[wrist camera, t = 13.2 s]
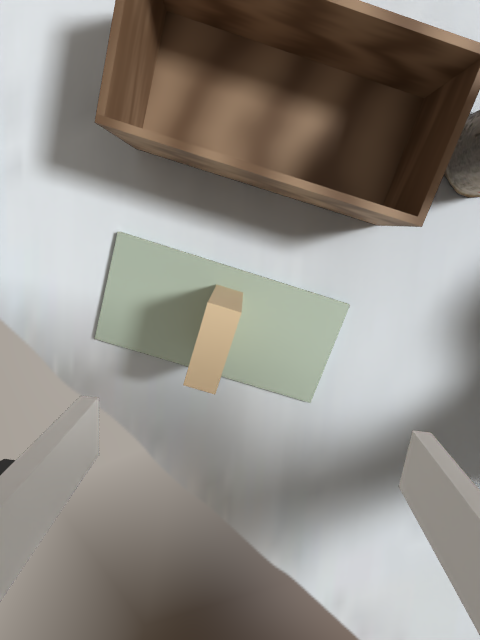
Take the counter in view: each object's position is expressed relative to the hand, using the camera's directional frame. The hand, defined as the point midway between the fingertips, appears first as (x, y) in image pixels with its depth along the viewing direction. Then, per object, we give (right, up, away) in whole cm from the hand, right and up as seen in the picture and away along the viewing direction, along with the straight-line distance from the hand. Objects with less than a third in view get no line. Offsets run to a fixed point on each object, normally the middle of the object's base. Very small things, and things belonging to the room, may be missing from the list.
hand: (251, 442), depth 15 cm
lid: (-3, +5, +26) cm, 27 cm away
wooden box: (+3, +24, +20) cm, 32 cm away
